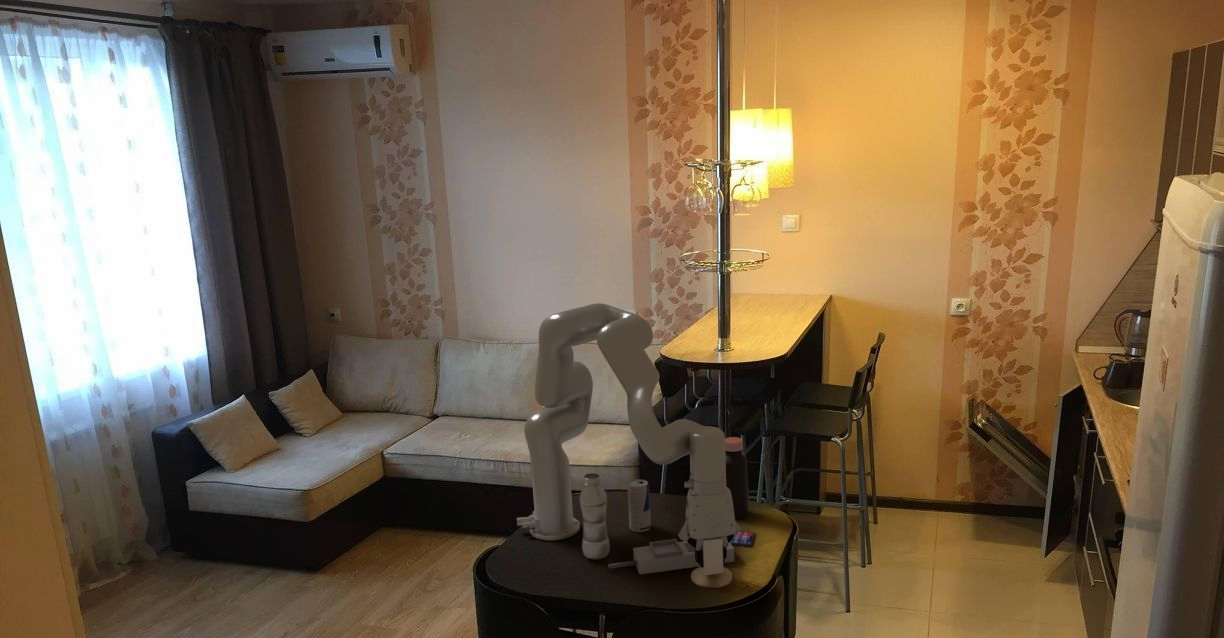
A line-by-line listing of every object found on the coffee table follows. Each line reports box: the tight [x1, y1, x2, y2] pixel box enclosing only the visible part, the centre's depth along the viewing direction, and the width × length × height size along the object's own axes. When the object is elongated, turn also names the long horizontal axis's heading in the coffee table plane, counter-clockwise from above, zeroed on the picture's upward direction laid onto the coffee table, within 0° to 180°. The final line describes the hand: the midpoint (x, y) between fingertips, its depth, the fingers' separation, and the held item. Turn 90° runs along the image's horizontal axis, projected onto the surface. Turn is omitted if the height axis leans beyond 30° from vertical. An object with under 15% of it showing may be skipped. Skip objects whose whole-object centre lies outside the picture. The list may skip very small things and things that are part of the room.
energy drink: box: [627, 478, 652, 533], centre depth 209 cm, size 5×5×12 cm
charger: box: [698, 537, 724, 575], centre depth 183 cm, size 4×4×8 cm
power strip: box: [607, 538, 735, 575], centre depth 191 cm, size 28×7×4 cm, turn 100°
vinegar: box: [725, 436, 749, 520], centre depth 213 cm, size 7×7×20 cm
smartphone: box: [730, 530, 756, 548], centre depth 202 cm, size 8×1×15 cm
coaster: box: [690, 566, 733, 589], centre depth 184 cm, size 9×9×1 cm
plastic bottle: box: [579, 472, 611, 561], centre depth 195 cm, size 6×7×20 cm
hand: (711, 562), depth 183 cm, fingers closed on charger, 4 cm apart
